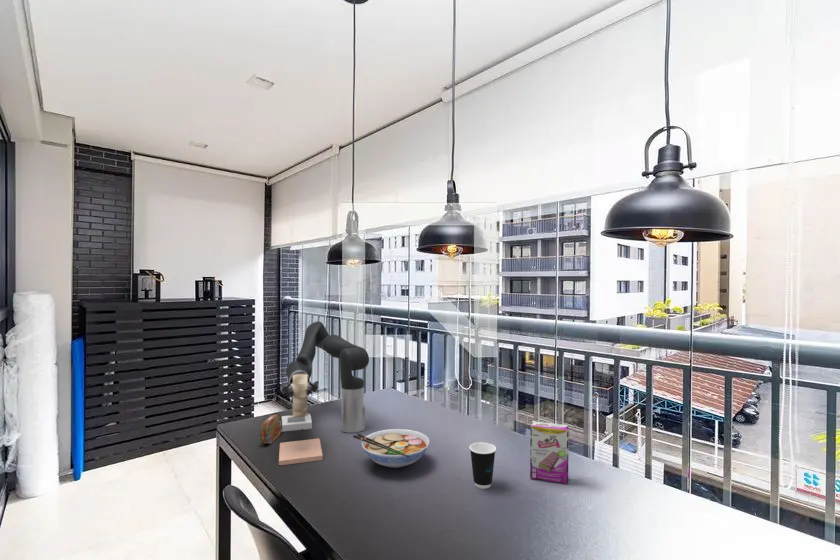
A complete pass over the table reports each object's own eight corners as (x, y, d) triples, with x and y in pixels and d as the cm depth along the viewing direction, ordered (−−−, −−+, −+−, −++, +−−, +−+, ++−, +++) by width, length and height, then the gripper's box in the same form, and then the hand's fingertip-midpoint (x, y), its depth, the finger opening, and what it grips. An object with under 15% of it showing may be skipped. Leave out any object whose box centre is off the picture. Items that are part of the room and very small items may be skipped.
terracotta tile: (319, 442, 153) (319, 438, 153) (322, 459, 138) (322, 455, 138) (280, 446, 148) (280, 442, 148) (278, 465, 133) (278, 461, 133)
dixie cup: (495, 492, 116) (495, 454, 116) (467, 489, 117) (467, 451, 118) (496, 479, 123) (496, 443, 123) (470, 476, 125) (470, 441, 125)
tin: (267, 447, 148) (267, 424, 148) (258, 447, 148) (258, 424, 148) (283, 432, 163) (283, 411, 163) (275, 432, 163) (275, 411, 164)
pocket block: (310, 419, 179) (310, 413, 179) (311, 428, 167) (311, 422, 167) (281, 422, 175) (281, 416, 175) (280, 431, 164) (280, 425, 164)
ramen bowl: (446, 463, 135) (446, 438, 135) (396, 488, 118) (396, 460, 118) (394, 443, 152) (394, 421, 152) (344, 463, 135) (344, 438, 135)
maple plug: (307, 412, 146) (307, 373, 146) (307, 416, 142) (307, 376, 142) (292, 413, 145) (292, 374, 145) (292, 418, 140) (292, 377, 140)
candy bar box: (529, 479, 123) (529, 425, 124) (531, 472, 128) (530, 420, 128) (569, 485, 120) (568, 429, 120) (568, 477, 124) (568, 424, 125)
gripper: (279, 372, 155) (278, 383, 139) (318, 370, 159) (321, 380, 143) (279, 392, 155) (278, 405, 139) (318, 389, 159) (321, 402, 143)
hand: (300, 393), depth 141 cm, fingers closed on maple plug, 5 cm apart
